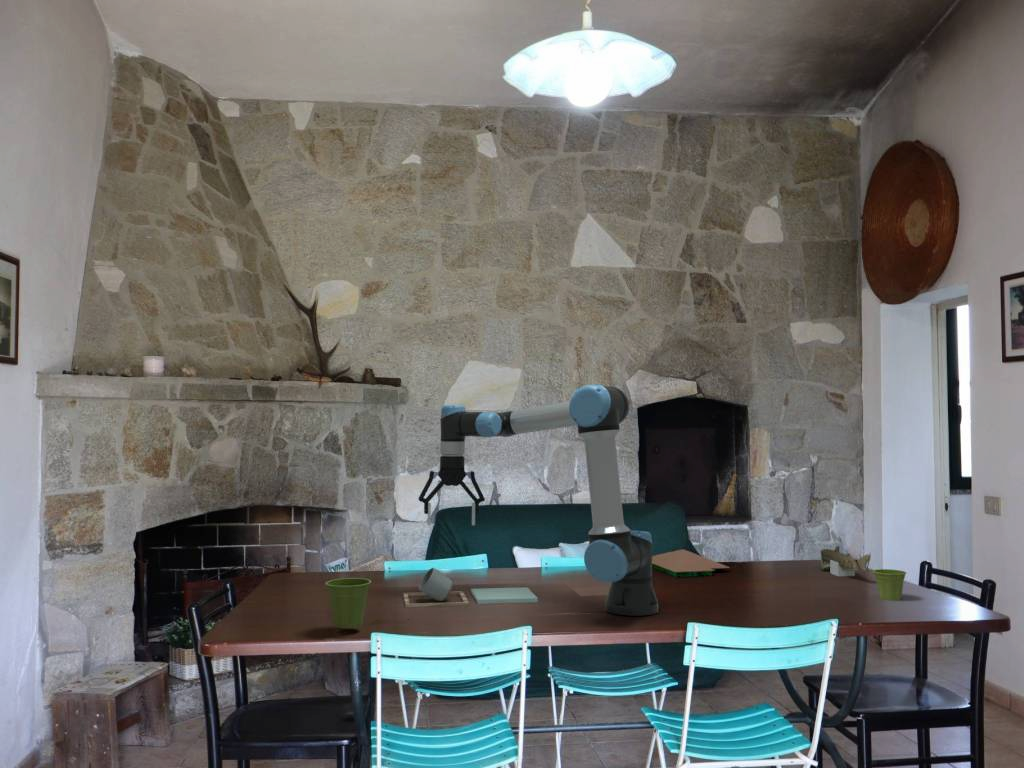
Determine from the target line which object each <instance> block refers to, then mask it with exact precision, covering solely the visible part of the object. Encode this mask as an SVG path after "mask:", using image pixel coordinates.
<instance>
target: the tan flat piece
mask: <svg viewBox="0 0 1024 768" xmlns="http://www.w3.org/2000/svg"><path fill="white" fill-rule="evenodd" d="M657 567H658V570H659V571H661V572H663V569H665V570H667V571H666V574H669V575H672V576H674V577H675V578H677V577H678V575H680V573H683V574H681V577H685V578H686V577H687V578H688V577H691V578H693V576H695V577H697V576H698V572H701V574H705V575H707V577H708V576H712V572H714V571H716V570H719V571H720V569H730V567H729V566H728V565H724V564H722V563H719V562H717V561H714V560H712V559H709V558H707V557H704V556H701V555H699V554H697V553H694V552H691V551H689V550H686V549H678V550H674V551H668V552H664V553H661V554H656V555H652V568H654V569H657ZM669 571H670V572H669ZM684 574H685V575H684Z"/></svg>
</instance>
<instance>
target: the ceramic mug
mask: <svg viewBox="0 0 1024 768" xmlns="http://www.w3.org/2000/svg"><path fill="white" fill-rule="evenodd" d="M453 587H454V581H452V580H451V579H450V578H449V577H448V576H446V575H444V574H443V573H442V572H441V571H439V570H438V569H437V568H435V567H431V568H430V569H428V570H427V572H426V573H425V574H424V576H423V577H422V579H421V581H420V583H419V586H418V590H419V591H420V592H424V593H425V594H427V596H429V597H431V598H432V599H434V600H435V601H438V602H439V603H442V602H443V601H444V602H445V600H446V599H447V598H448V597H449V596H450V595H449V594H450V592H452V591H453Z"/></svg>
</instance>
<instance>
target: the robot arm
mask: <svg viewBox="0 0 1024 768" xmlns="http://www.w3.org/2000/svg"><path fill="white" fill-rule="evenodd" d="M629 412H630V401H629V398H628V396H627V395H626V393H625V392H624V391H623V390H621V389H620V388H618V387H617V386H611V385H609V386H608V385H601V384H599V383H598V384H597V383H596V384H588V385H584V386H581V387H579V388H578V389H577V390H575V392H574V394H572V396H571V398H570V400H569V401H564V402H557V403H552V404H546V405H540V406H534V407H528V408H522V409H515V410H509V411H504V412H494V411H492V412H491V411H467V410H466V407H465V405H456V404H455V405H443V406H442V407H441V413H440V446H439V448H440V449H439V451H440V452H439V453H440V455H441V456H440V457H439V471H433V470H430V471H429V475H428V479H427V481H426V483H425V485H424V486H423V489H422V490H421V492H420V495H419V496H418V501H419V502H421V503H423V504H424V505H423V508H424V509H423V512H424V514H425V515H427V526H431V518H432V517H431V515H432V514H431V513H432V511H431V508H432V507H431V506H432V505H431V502H430V501H431V500H432V499H433V498H434V497H435V496H436V494H437V493H438V492H439V491H440V490H441V488H442V487H444V485H445V486H447V487H450V486H453V487H457V486H461V487H462V489H463V490H464V491H465V492H466V493H467V494H468V496H469V497H470V498H471V500H472V501H473V503H471V526H476V515H478V514H479V509H480V506H479V505H480V503H483V502H485V500H486V499H485V496H484V494H483V492H482V490H481V488H480V486H479V484H478V481H477V480H476V473H475V471H474V470H472V471H465V462H466V461H465V457H464V455H465V453H466V451H465V449H466V447H465V446H466V437H473V438H474V437H476V438H477V437H478V438H480V437H481V438H482V437H483V438H492V437H493V438H495V437H503V438H507V437H508V438H509V437H513V436H515V435H521V434H529V433H534V432H541V431H547V430H555V429H562V428H568V427H574V426H575V427H576V426H577V433H578V436H579V437H580V438H582V439H583V441H584V447H585V459H586V469H587V479H588V489H589V490H588V491H589V500H590V508H591V509H590V510H591V521H592V528H591V529H590V530H589V531H588V532H587V533H588V534H587V536H588V546H587V548H585V551H584V555H583V560H584V561H583V562H584V563H583V564H584V566H585V568H586V571H587V572H588V573H589V575H591V576H592V578H594V579H595V580H597V581H599V582H600V583H601V582H602V583H610V586H609V590H608V592H607V596H606V599H605V602H604V605H605V608H604V610H605V611H606V612H608V613H611V614H613V615H614V614H615V615H620V616H629V617H630V616H632V617H633V616H635V617H637V616H639V617H640V616H651V615H655V614H657V613H659V602H658V599H657V597H656V596H657V595H656V593H655V590H654V586H653V567H652V556H653V540H652V539H653V538H652V534H651V533H650V532H649V531H644V530H643V531H642V530H632V529H630V528H629V527H628V526H627V525H626V524H625V520H624V512H623V502H622V500H623V499H622V492H621V483H620V472H619V463H618V454H617V453H618V452H617V444H616V437H617V435H618V434H619V433H620V432H621V430H620V424H621V423H623V422H624V421H625V420H626V419H627V417H628V414H629ZM437 476H438V478H439V479H440V481H439V483H438V484H437V485H436V486H435V487H434V488H433V489H432V490H431V492H430V493H429V494H428V495H427V493H428V490H429V488H430V486H431V485H432V483H433V480H434V479H436V477H437ZM466 477H467V478H468V479H470V481H471V483H472V485H473V487H474V489H475V491H476V494H477V496H478V498H477V496H476V495H475V494H474V493H473V492H472V491H471V489H470V488H469V487H468V486H467V485H466V483H465V482H464V481H463V480H464V479H465V478H466ZM426 495H427V496H426ZM425 496H426V498H425Z"/></svg>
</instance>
